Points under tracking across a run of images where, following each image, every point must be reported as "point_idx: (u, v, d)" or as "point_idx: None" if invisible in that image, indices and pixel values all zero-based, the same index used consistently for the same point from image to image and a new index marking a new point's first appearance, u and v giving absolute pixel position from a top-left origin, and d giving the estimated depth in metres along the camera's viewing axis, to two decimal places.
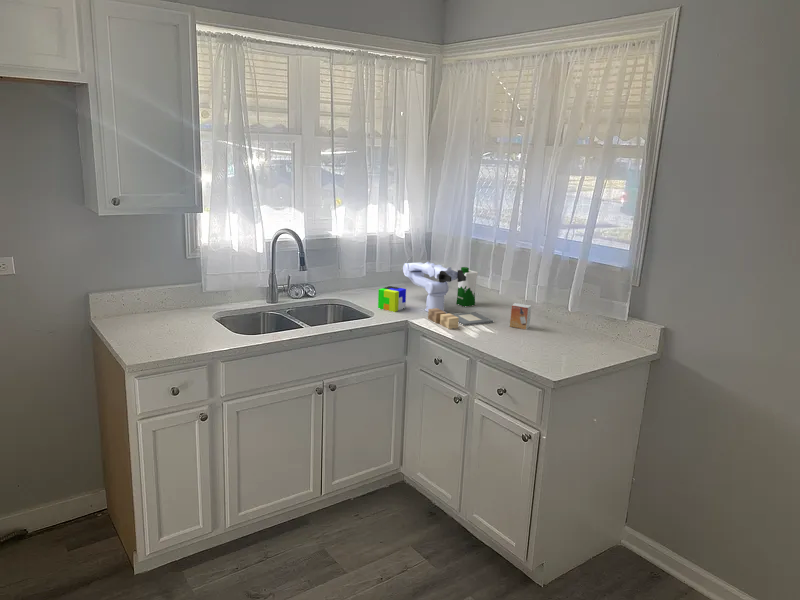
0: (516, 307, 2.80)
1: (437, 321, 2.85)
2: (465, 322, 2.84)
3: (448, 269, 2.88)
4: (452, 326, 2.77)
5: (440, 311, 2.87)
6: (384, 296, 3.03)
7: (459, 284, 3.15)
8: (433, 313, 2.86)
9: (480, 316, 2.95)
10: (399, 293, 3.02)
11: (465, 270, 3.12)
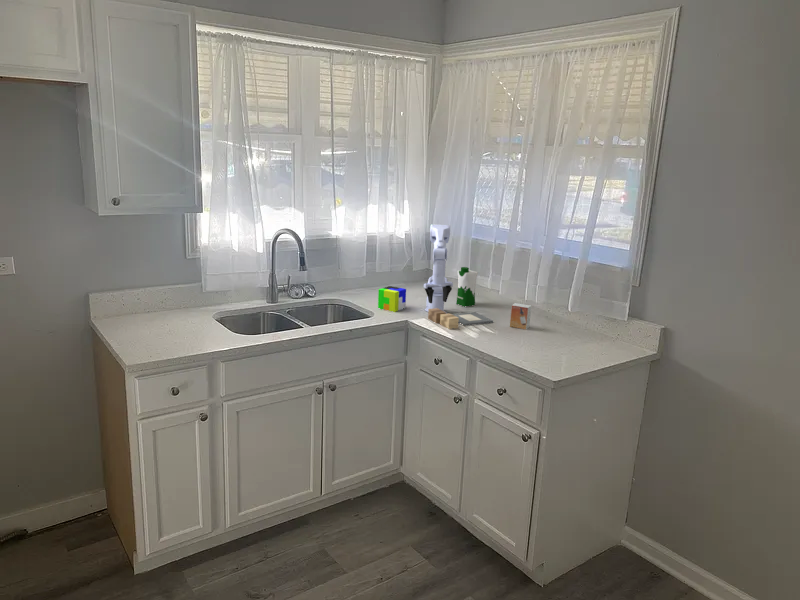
0: (516, 307, 2.80)
1: (437, 321, 2.85)
2: (465, 322, 2.84)
3: (440, 286, 2.82)
4: (452, 326, 2.77)
5: (440, 311, 2.87)
6: (384, 296, 3.03)
7: (459, 284, 3.15)
8: (433, 313, 2.86)
9: (480, 316, 2.95)
10: (399, 293, 3.02)
11: (465, 270, 3.12)
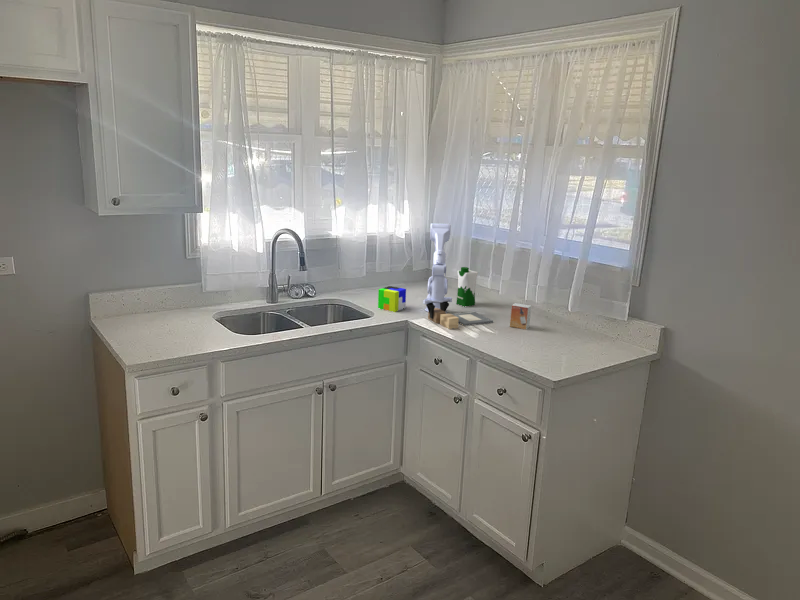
0: (516, 307, 2.80)
1: (437, 321, 2.85)
2: (465, 322, 2.84)
3: (439, 301, 2.84)
4: (452, 326, 2.77)
5: (440, 311, 2.87)
6: (384, 296, 3.03)
7: (459, 284, 3.15)
8: None
9: (480, 316, 2.95)
10: (399, 293, 3.02)
11: (465, 270, 3.12)
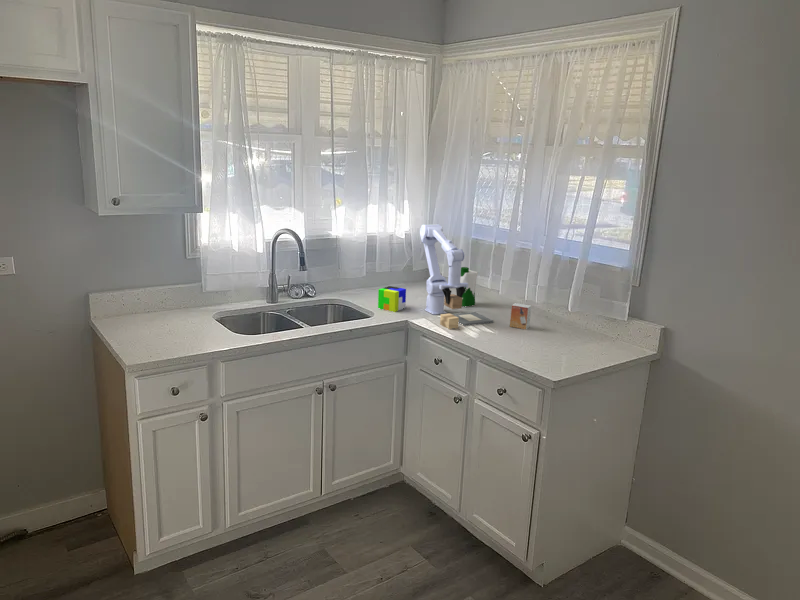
0: (516, 307, 2.80)
1: (453, 307, 2.85)
2: (465, 322, 2.84)
3: (456, 287, 2.84)
4: (452, 326, 2.77)
5: (456, 297, 2.87)
6: (384, 296, 3.03)
7: None
8: None
9: (480, 316, 2.95)
10: (399, 293, 3.03)
11: (465, 270, 3.12)
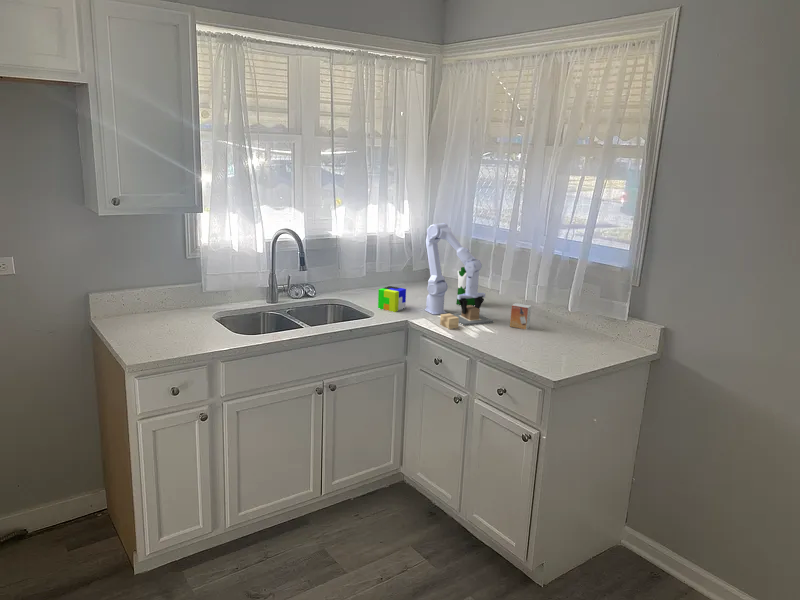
0: (516, 307, 2.80)
1: (471, 318, 2.88)
2: (465, 322, 2.84)
3: (473, 297, 2.87)
4: (452, 326, 2.77)
5: (474, 308, 2.90)
6: (384, 296, 3.03)
7: (459, 284, 3.15)
8: (467, 310, 2.89)
9: (480, 316, 2.95)
10: (399, 293, 3.02)
11: (465, 270, 3.12)
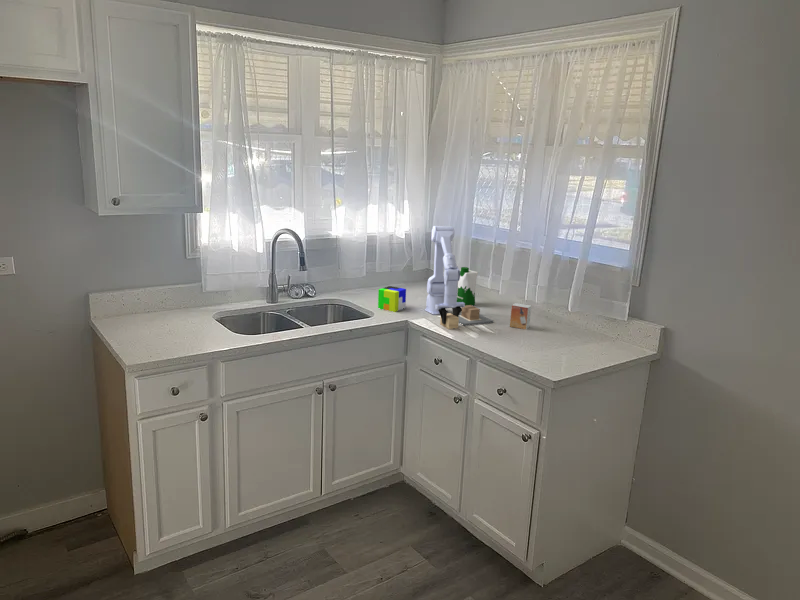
0: (516, 307, 2.80)
1: (471, 318, 2.88)
2: (465, 322, 2.84)
3: (452, 307, 2.76)
4: (452, 326, 2.77)
5: (474, 308, 2.90)
6: (384, 296, 3.03)
7: (459, 284, 3.15)
8: (467, 310, 2.89)
9: (480, 316, 2.95)
10: (399, 293, 3.02)
11: (465, 270, 3.12)
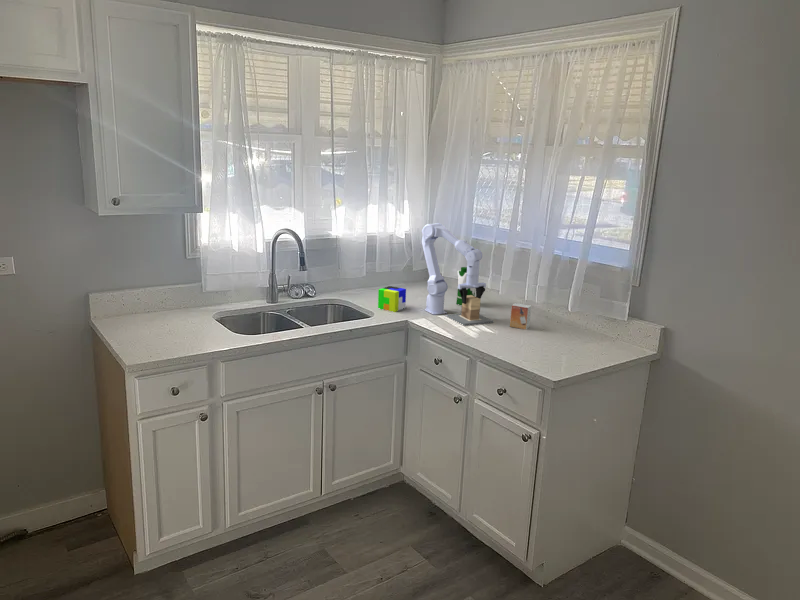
0: (516, 307, 2.80)
1: (471, 318, 2.88)
2: (465, 322, 2.84)
3: (474, 286, 2.86)
4: (474, 307, 2.87)
5: None
6: (384, 296, 3.03)
7: None
8: (467, 310, 2.89)
9: (480, 316, 2.95)
10: (399, 293, 3.02)
11: (465, 270, 3.12)
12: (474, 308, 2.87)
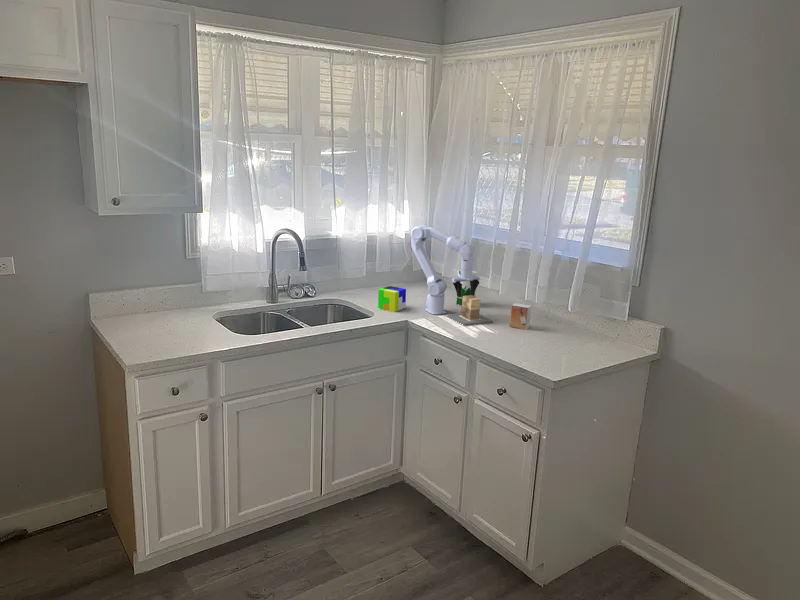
0: (516, 307, 2.80)
1: (471, 318, 2.88)
2: (465, 322, 2.84)
3: (468, 280, 2.90)
4: (474, 307, 2.87)
5: None
6: (384, 296, 3.03)
7: None
8: (467, 310, 2.89)
9: (480, 316, 2.95)
10: (399, 293, 3.02)
11: None
12: (474, 308, 2.87)
